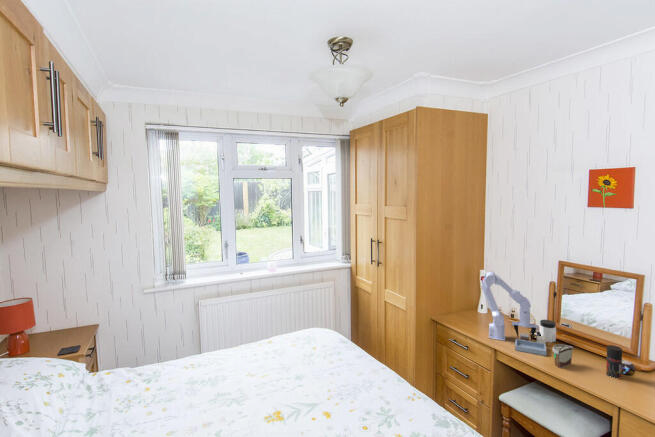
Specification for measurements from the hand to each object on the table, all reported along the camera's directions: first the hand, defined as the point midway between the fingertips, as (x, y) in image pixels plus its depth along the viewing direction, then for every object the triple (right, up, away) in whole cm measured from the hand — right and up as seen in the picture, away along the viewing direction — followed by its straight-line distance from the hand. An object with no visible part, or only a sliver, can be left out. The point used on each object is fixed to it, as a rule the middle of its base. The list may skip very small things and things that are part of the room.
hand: (524, 337), depth 215 cm
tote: (-3, -3, -11) cm, 12 cm away
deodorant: (+22, -5, -41) cm, 47 cm away
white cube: (+8, -3, -4) cm, 9 cm away
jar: (+16, -2, +1) cm, 16 cm away
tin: (0, -3, 0) cm, 3 cm away
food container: (+3, -5, -28) cm, 29 cm away
